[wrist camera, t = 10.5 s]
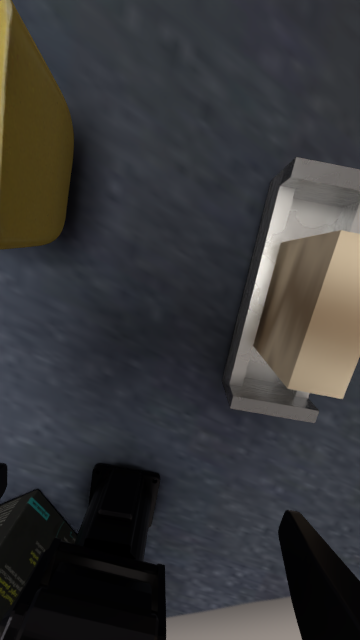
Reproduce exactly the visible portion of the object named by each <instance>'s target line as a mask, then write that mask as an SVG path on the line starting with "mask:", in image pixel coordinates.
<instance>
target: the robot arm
mask: <svg viewBox="0 0 360 640" xmlns="http://www.w3.org/2000/svg"><path fill="white" fill-rule="evenodd" d="M99 470H100V471H99ZM154 479H156V480H154ZM159 484H160V476H159V475H158V474H156V473H150V472H144V471H137V470H131V469H125V468H119V467H113V466H107V465H101V464H97V465H95V467H94V469H93V473H92V482H91V491H90V500H89V507H88V510H87V512H86V515H85V517H84V520H83V522H82V525H81V527H80V530H79V532H78V535H77V538H76V540H75V543H74V544H73V543H69V542H65V541H62V539H60V538H56V537H55V538H54V540H53V542H52V544H51V545H50V547H49V549H46V550H45V552H42V553H41V555H40V557H39V559H38V561H37V563H36V565H35V567H34V569H33V571H32V573H31V575H30V577H29V579H28V580H27V582H26V584H25V585H24V587H23V588H22V590H21V591H20V593H19V594H18V596H17V597H16V599H15V600H14V602H13V603H12V605H11V606H10V608H9V609H8V611H7V612H6V614H5V615H4V617H3V619H2V620H1V622H0V640H166V599H165V565H162V564H157V565H155V564H152V563H148V562H144V561H143V560H144V553H145V546H146V539H147V532H148V528H149V527H151V524H152V519H153V514H154V509H155V504H156V499H157V494H158V489H159ZM6 487H7V465H6V464H5V463H0V499H1V497H2V495H3V494H4V492H5V490H6ZM278 535H279V541H280V546H281V551H282V556H283V561H284V566H285V571H286V576H287V581H288V585H289V590H290V595H291V600H292V603H293V608H294V612H295V615H296V619H297V623H298V626H299V630H300V633H301V637H302V640H360V581H359V580H358V579H357V577H356V576H355V575H354V574H353V573H352V572H351V570H350V569H349V568H348V567H347V566H346V565H345V564H344V562H343V561H342V560H341V559H340V558H339V557H338V556H337V554H336V553H335V552H334V551H333V550H332V549H331V548H330V546H329V545H328V544H327V543H326V542H325V541H324V539H323V538H322V537H321V536H320V535H319V534H318V533H317V531H316V530H315V529H314V528H313V527H312V526H311V525H310V523H309V522H308V521H307V520H306V519H305V518H304V517H303V515H302V514H301V513H299V512H297V511H292V510H286V511H285V513H284V515H283V518H282V521H281V523H280V526H279V530H278Z"/></svg>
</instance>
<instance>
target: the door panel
mask: <svg viewBox="0 0 360 640" xmlns="http://www.w3.org/2000/svg"><path fill="white" fill-rule="evenodd" d="M253 346H254V348H255V349H256V350H257V351H258V353H259V354H260V355H261V356H262V358H263V359H264V360H265V361H266V363H267V364H268V365H269V366H270V368H271V369H272V370H273V371H274V372H275V374H276V375H277V376H278V377H279V379H280V380H281V381H282V382H283V384H284V385H285V386H286V387H287V389H292V390H297V391H303V392H308V393H313V394H318V395H324V396H329V397H334V398H340V399H343V397H344V394H345V392H346V389H347V387H348V384H349V382H350V379H351V377H352V374H353V372H354V370H355V367H356V365H357V362H358V360H359V357H360V234H357V233H353V232H348V231H343V230H339V231H334V232H329V233H325V234H320V235H315V236H310V237H305V238H300V239H295V240H290V241H285V242H281V244H280V248H279V252H278V255H277V259H276V263H275V267H274V270H273V274H272V278H271V281H270V285H269V289H268V292H267V296H266V300H265V304H264V307H263V311H262V315H261V318H260V322H259V326H258V330H257V333H256V337H255V341H254V344H253Z"/></svg>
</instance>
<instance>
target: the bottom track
mask: <svg viewBox="0 0 360 640" xmlns="http://www.w3.org/2000/svg"><path fill="white" fill-rule="evenodd" d="M339 230H343V231H348V232H353V233H357V234H360V170H359V169H354V168H349V167H344V166H339V165H334V164H329V163H323V162H318V161H313V160H308V159H303V158H298V157H296V158H295V159H294V160H293V161H292V162H291V163H289V164H288V165H287V166H286V167H285V168H284V169H283V170H282V171H281V172H280V173H279V174H278V175H277V176H276V177H275V178H274V179H273V180H271V182H270V186H269V191H268V195H267V199H266V203H265V207H264V211H263V215H262V219H261V223H260V227H259V231H258V235H257V239H256V244H255V248H254V252H253V256H252V260H251V264H250V268H249V272H248V276H247V280H246V284H245V288H244V292H243V297H242V301H241V305H240V309H239V313H238V317H237V321H236V325H235V329H234V333H233V337H232V341H231V345H230V350H229V354H228V358H227V362H226V366H225V370H224V374H223V378H222V383H223V387H224V390H225V393H226V396H227V400H228V403H229V406H230V408H231V409H236V410H242V411H248V412H254V413H260V414H265V415H271V416H277V417H283V418H288V419H294V420H300V421H306V422H312V423H315V421H316V418H317V416H318V413H319V410H318V409H317V408H316V407H315V406H314V405H313V404H312V402H311V401H310V400H309V399H308V397H309V394H310V393H308V392H303V391H297V390H292V389H287V387H286V386H285V385H284V384H283V382H282V381H281V380H280V379H279V377H278V376H277V375H276V374H275V372H274V371H273V370H272V369H271V368H270V366H269V365H268V364H267V363H266V361H265V360H264V359H263V358H262V356H261V355H260V354H259V353H258V351H257V350H256V349H255V348H254V346H253V344H254V341H255V337H256V333H257V330H258V326H259V322H260V318H261V315H262V311H263V307H264V304H265V300H266V296H267V292H268V289H269V285H270V281H271V278H272V274H273V270H274V267H275V263H276V259H277V255H278V252H279V248H280V244H281V242H285V241H290V240H295V239H300V238H305V237H310V236H315V235H320V234H325V233H329V232H334V231H339Z"/></svg>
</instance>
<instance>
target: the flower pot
mask: <svg viewBox="0 0 360 640" xmlns="http://www.w3.org/2000/svg"><path fill="white" fill-rule="evenodd" d="M73 151H74V134H73V126H72V120H71V116H70V112H69V109H68V106H67V104H66V101H65V99H64V97H63V95H62V93H61V91H60V89H59V87H58V85H57V83H56V81H55V79H54V77H53V76H52V74H51V72H50V70H49V68H48V66H47V64H46V63H45V61H44V59H43V57H42V55H41V53H40V52H39V50H38V48H37V46H36V44H35V42H34V41H33V39H32V37H31V35H30V33H29V32H28V30H27V28H26V26H25V24H24V23H23V21H22V19H21V17H20V15H19V14H18V12H17V10H16V8H15V6H14V4H13V2H12V0H0V249H11V248H23V247H32V246H41V245H45V244H49V243H51V242H52V241H54V240H55V239H56V238H57V237H58V236H59V235H60V233H61V232H62V229H63V227H64V223H65V218H66V209H67V201H68V193H69V185H70V178H71V170H72V163H73Z"/></svg>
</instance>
